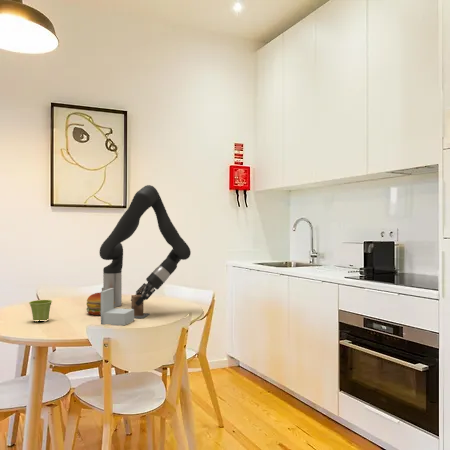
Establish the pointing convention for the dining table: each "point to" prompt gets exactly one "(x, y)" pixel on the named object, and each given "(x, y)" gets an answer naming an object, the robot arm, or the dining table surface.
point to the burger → (94, 304)
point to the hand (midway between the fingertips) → (134, 303)
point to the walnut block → (137, 309)
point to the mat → (142, 316)
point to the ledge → (114, 310)
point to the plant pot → (40, 309)
